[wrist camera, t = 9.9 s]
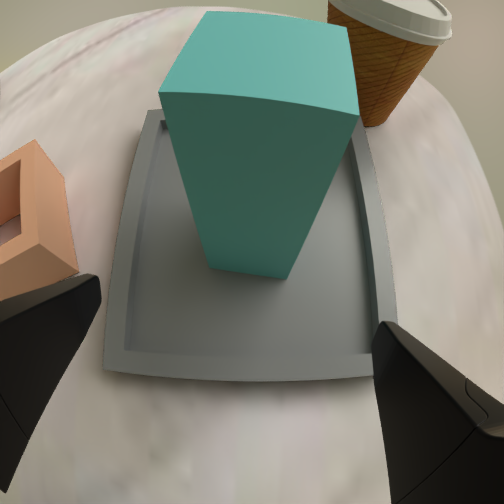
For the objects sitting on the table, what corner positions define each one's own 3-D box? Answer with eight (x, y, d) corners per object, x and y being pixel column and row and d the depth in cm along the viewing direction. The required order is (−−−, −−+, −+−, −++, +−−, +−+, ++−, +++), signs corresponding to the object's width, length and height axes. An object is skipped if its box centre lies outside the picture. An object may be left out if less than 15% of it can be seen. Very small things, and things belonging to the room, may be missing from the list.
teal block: (286, 279, 18) (360, 115, 6) (209, 267, 18) (158, 92, 6) (294, 210, 19) (346, 27, 8) (223, 200, 19) (206, 11, 8)
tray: (385, 372, 17) (400, 371, 15) (116, 369, 16) (102, 369, 14) (353, 132, 23) (360, 115, 21) (153, 127, 23) (147, 110, 21)
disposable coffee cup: (321, 60, 27) (343, -41, 16) (409, 97, 25) (453, 4, 14) (287, 111, 24) (307, -21, 12) (395, 159, 22) (463, 43, 11)
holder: (79, 271, 18) (39, 243, 14) (-4, 312, 17) (-49, 295, 12) (64, 177, 21) (34, 139, 16) (-10, 220, 20) (-44, 192, 15)
